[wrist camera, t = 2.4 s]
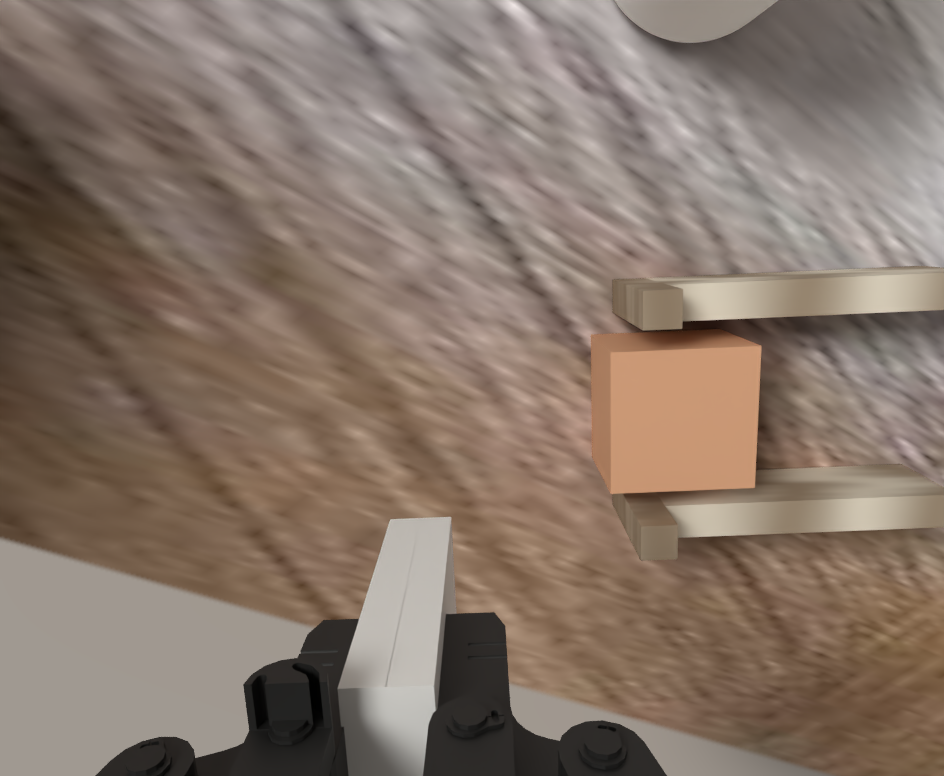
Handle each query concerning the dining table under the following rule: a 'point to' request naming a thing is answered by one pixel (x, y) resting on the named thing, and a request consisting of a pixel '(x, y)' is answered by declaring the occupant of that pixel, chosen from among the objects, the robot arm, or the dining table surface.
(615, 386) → the block
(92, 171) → the dining table surface
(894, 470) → the parallel beige rails
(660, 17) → the beverage can
